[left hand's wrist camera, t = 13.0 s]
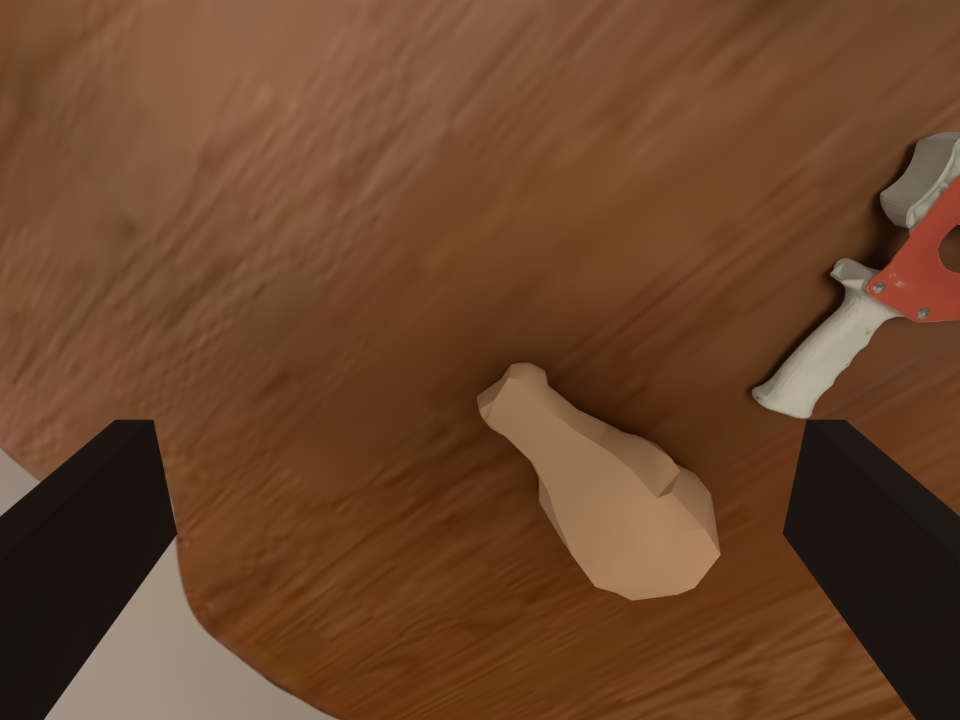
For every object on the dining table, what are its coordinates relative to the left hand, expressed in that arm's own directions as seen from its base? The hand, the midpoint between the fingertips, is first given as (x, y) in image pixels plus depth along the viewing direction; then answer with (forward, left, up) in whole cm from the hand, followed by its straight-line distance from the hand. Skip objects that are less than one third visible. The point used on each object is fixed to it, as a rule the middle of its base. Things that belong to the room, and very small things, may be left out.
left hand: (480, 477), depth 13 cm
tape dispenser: (+17, -21, -31) cm, 42 cm away
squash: (-7, -18, -31) cm, 36 cm away
